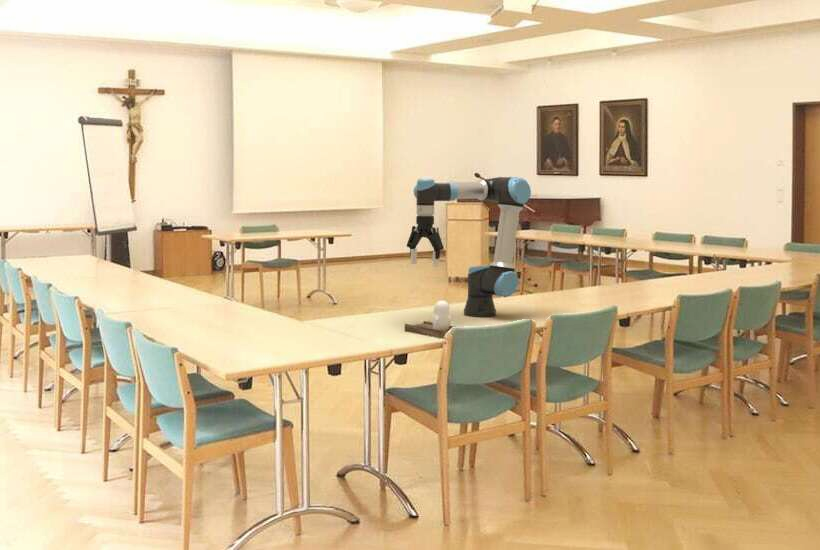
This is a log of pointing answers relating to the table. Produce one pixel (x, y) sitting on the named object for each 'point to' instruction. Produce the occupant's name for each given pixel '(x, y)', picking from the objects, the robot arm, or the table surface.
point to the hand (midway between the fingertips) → (424, 265)
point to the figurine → (441, 316)
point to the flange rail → (427, 329)
